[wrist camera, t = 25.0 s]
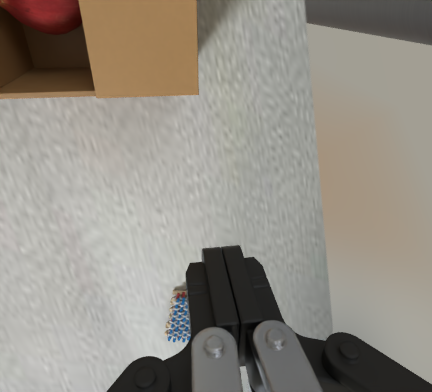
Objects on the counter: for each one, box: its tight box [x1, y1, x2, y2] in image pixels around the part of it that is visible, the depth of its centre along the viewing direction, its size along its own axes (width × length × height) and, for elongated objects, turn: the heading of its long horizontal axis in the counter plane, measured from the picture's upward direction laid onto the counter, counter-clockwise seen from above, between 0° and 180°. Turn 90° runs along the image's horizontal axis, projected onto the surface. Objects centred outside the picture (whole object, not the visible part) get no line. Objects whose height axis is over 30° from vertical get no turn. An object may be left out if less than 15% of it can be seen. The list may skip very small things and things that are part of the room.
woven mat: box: [165, 290, 190, 342], centre depth 52 cm, size 10×11×2 cm
